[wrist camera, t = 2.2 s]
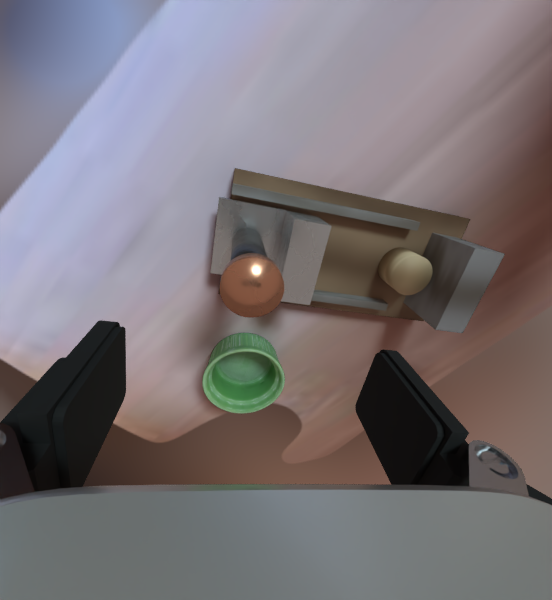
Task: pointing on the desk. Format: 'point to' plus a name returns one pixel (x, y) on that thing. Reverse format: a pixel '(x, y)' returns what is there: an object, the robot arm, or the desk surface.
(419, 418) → the robot arm
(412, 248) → the press frame
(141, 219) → the desk surface
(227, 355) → the ramekin
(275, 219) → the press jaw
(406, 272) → the beige rounded dome
